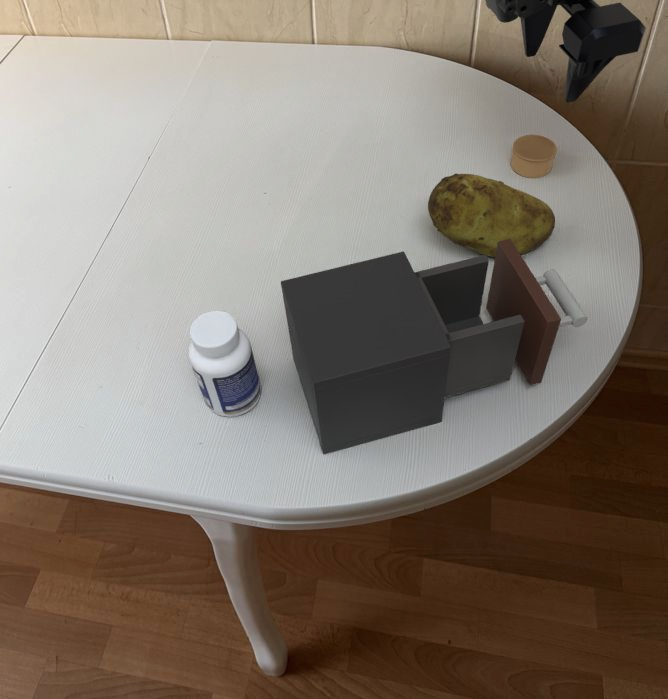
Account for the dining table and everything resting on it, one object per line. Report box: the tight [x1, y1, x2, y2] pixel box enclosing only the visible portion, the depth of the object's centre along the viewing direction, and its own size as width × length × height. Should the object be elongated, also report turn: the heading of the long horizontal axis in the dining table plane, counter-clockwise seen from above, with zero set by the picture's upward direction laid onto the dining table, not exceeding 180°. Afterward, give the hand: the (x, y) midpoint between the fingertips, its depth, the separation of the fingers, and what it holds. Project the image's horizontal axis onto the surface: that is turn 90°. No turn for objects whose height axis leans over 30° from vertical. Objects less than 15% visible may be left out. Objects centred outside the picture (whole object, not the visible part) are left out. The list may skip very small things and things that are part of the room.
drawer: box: [414, 239, 588, 398], centre depth 62 cm, size 14×10×9 cm
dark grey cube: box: [280, 251, 451, 455], centre depth 61 cm, size 11×11×11 cm
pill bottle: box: [188, 310, 262, 418], centre depth 62 cm, size 5×5×10 cm
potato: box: [427, 173, 556, 258], centre depth 73 cm, size 8×13×8 cm, turn 70°
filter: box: [510, 134, 558, 179], centre depth 82 cm, size 5×5×2 cm
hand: (549, 77), depth 74 cm, fingers open, 9 cm apart
